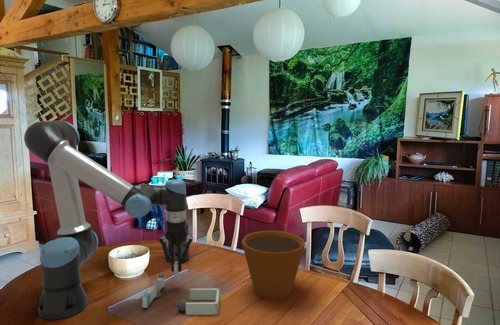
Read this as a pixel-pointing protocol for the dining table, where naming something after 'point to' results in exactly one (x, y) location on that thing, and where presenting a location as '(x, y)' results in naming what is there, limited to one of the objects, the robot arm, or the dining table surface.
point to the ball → (182, 304)
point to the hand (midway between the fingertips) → (176, 278)
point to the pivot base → (158, 296)
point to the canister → (177, 247)
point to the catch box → (203, 307)
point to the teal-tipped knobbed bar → (153, 290)
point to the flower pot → (273, 261)
